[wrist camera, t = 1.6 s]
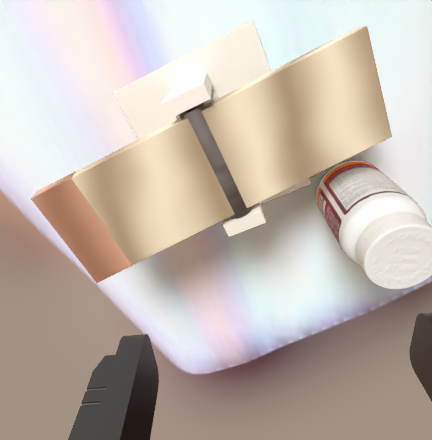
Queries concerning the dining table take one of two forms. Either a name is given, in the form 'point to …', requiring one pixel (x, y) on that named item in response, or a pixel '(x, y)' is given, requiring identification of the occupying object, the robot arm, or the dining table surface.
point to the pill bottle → (377, 224)
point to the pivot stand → (200, 94)
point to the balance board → (221, 157)
